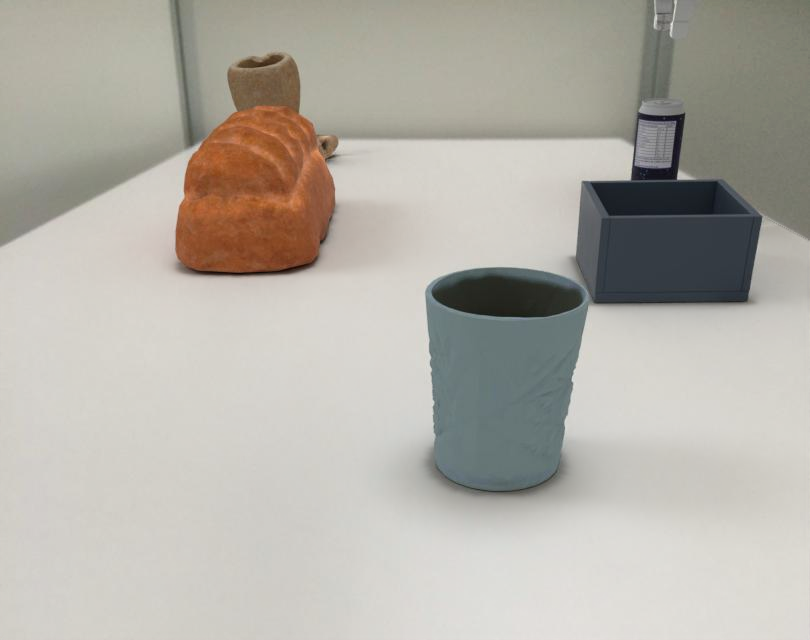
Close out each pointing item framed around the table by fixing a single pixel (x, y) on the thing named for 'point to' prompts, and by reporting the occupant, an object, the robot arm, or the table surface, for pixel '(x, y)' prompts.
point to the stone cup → (271, 88)
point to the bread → (255, 195)
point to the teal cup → (502, 372)
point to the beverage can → (658, 139)
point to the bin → (666, 241)
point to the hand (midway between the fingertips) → (669, 34)
